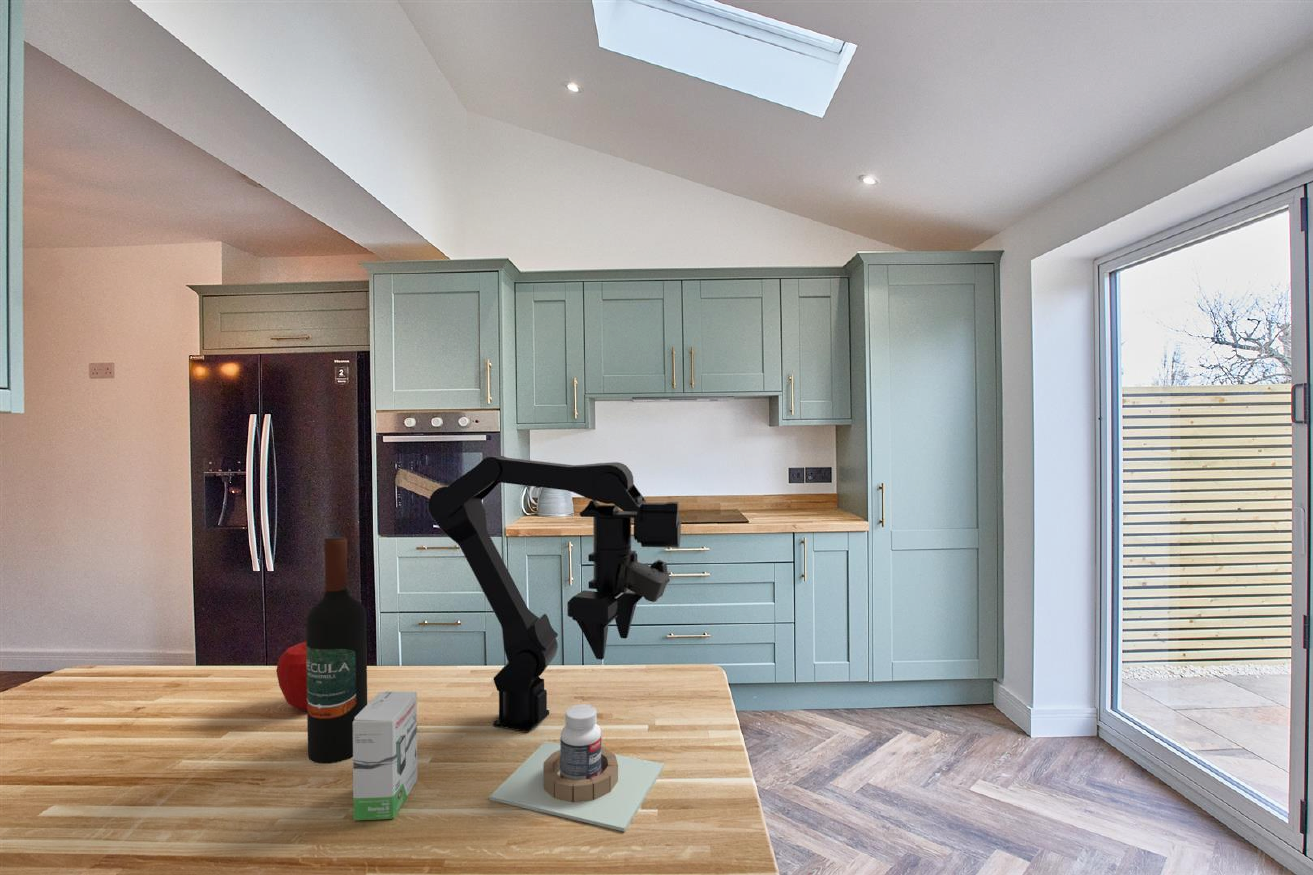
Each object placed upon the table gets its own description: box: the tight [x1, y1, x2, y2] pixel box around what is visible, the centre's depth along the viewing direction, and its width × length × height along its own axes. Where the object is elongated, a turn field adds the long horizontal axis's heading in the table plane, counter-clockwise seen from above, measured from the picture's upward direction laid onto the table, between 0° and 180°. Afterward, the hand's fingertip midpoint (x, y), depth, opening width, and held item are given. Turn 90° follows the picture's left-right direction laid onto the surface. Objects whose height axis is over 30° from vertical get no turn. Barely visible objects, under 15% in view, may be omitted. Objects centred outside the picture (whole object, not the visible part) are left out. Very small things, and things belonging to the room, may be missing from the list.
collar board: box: [488, 740, 665, 832], centre depth 80 cm, size 18×14×2 cm
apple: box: [275, 641, 307, 712], centre depth 102 cm, size 10×10×11 cm
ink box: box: [352, 690, 418, 821], centre depth 77 cm, size 9×5×12 cm, turn 2°
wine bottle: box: [305, 536, 368, 765], centre depth 88 cm, size 8×8×30 cm
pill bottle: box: [559, 704, 602, 780], centre depth 80 cm, size 5×5×9 cm
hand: (612, 648), depth 95 cm, fingers open, 9 cm apart
